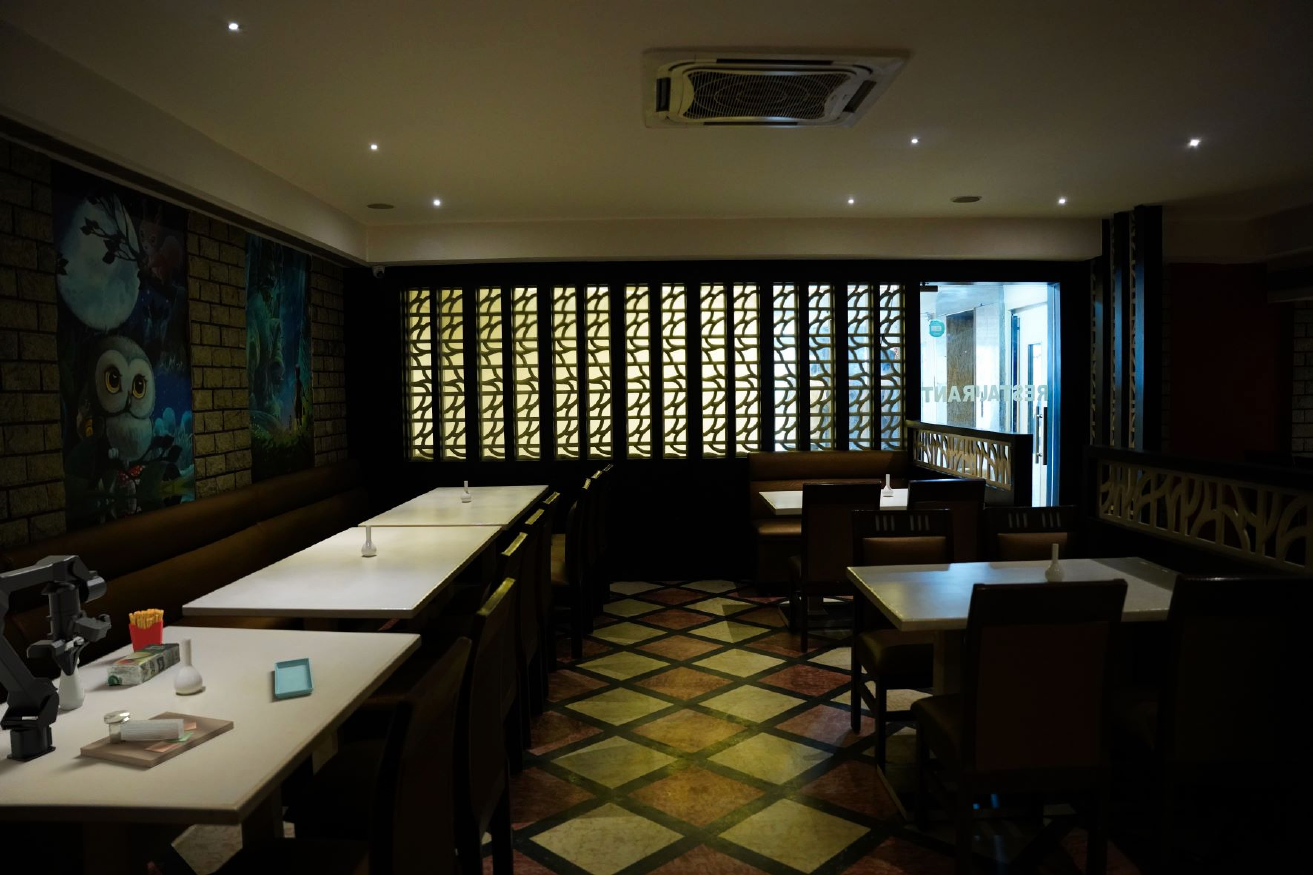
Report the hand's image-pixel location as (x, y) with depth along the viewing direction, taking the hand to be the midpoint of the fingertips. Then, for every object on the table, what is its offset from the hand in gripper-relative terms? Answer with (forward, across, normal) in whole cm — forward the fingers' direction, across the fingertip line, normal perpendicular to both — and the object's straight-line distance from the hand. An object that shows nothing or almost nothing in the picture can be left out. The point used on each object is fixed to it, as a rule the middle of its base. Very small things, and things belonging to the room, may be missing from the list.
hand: (69, 675), depth 194 cm
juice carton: (+14, +40, +6) cm, 42 cm away
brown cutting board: (+13, -8, -24) cm, 29 cm away
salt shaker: (+13, +15, +10) cm, 22 cm away
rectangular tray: (+14, +28, -40) cm, 50 cm away
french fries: (+13, +58, +14) cm, 61 cm away
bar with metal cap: (+11, -12, -23) cm, 28 cm away
